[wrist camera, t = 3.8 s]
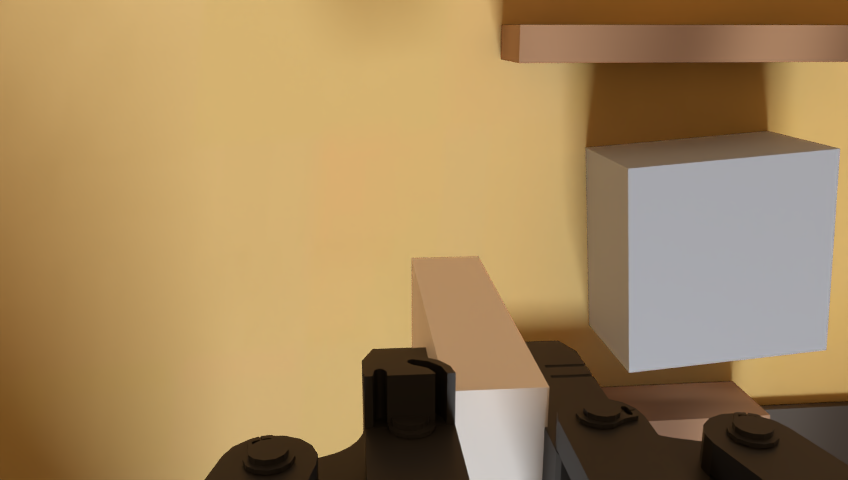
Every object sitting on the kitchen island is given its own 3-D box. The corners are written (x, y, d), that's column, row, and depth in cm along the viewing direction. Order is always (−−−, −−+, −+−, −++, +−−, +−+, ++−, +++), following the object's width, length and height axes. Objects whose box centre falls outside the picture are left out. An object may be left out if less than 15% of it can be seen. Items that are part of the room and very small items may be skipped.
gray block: (587, 322, 27) (629, 373, 23) (584, 146, 25) (628, 168, 21) (757, 303, 27) (826, 350, 23) (764, 129, 26) (840, 148, 22)
